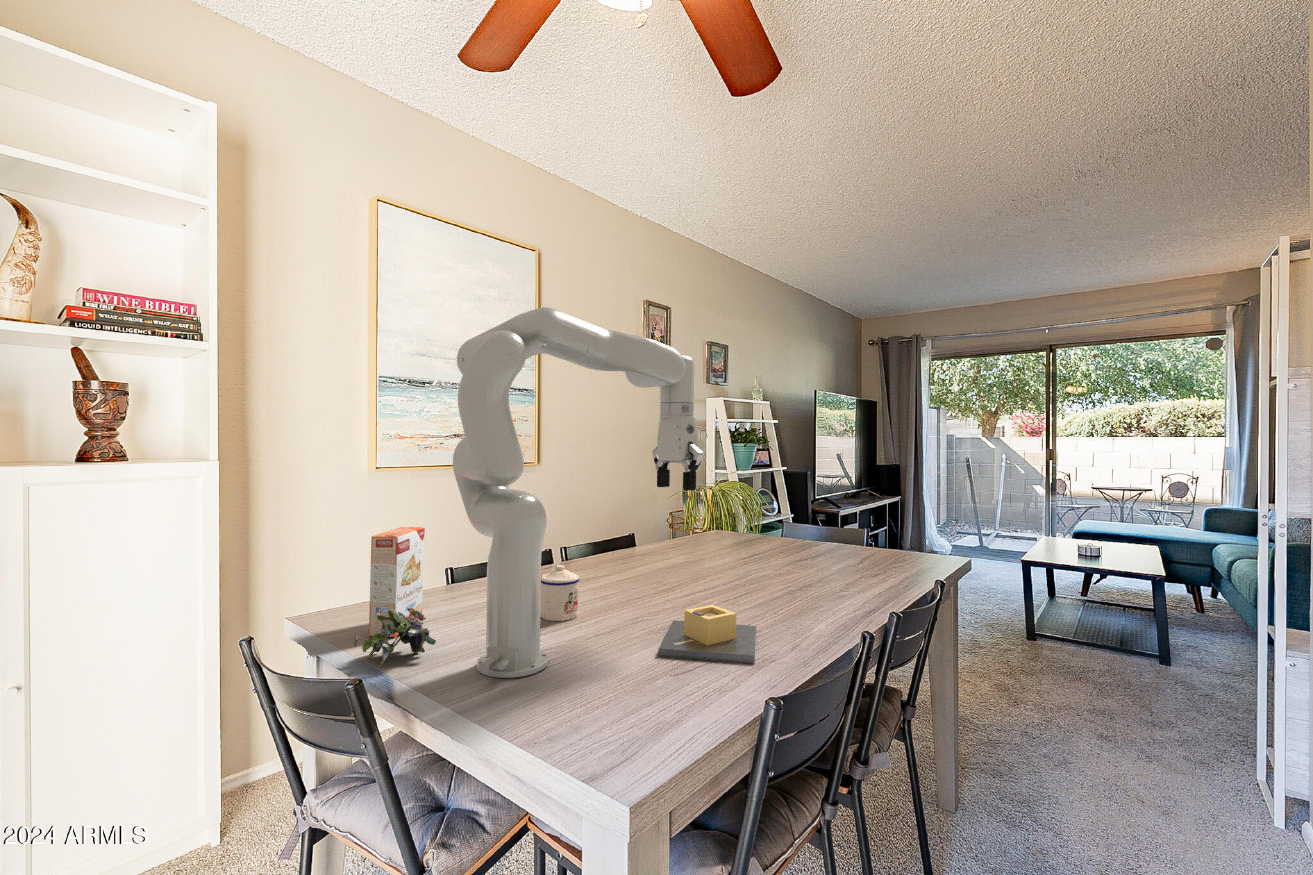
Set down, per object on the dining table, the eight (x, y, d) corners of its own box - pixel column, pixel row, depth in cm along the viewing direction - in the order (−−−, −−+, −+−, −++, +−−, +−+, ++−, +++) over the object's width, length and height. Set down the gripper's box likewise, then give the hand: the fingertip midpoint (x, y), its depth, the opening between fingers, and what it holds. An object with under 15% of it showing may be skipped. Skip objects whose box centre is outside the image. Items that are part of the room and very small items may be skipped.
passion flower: (414, 682, 114) (451, 632, 114) (370, 694, 104) (411, 639, 103) (380, 641, 118) (416, 593, 118) (335, 648, 108) (374, 595, 108)
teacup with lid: (571, 623, 134) (571, 571, 134) (532, 620, 136) (533, 568, 136) (588, 608, 146) (588, 560, 146) (552, 606, 147) (553, 558, 147)
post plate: (754, 663, 111) (754, 633, 111) (658, 656, 114) (659, 627, 114) (755, 632, 129) (756, 607, 129) (672, 627, 132) (673, 602, 132)
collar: (736, 638, 120) (736, 611, 120) (707, 645, 116) (707, 617, 116) (712, 628, 127) (712, 603, 127) (684, 634, 122) (684, 608, 122)
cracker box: (396, 638, 122) (398, 536, 122) (367, 638, 122) (368, 535, 122) (424, 618, 136) (425, 526, 136) (398, 617, 136) (399, 525, 136)
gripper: (714, 411, 129) (714, 490, 129) (667, 413, 143) (666, 485, 143) (687, 409, 125) (686, 492, 125) (641, 412, 139) (640, 486, 139)
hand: (675, 488), depth 134 cm, fingers open, 9 cm apart
